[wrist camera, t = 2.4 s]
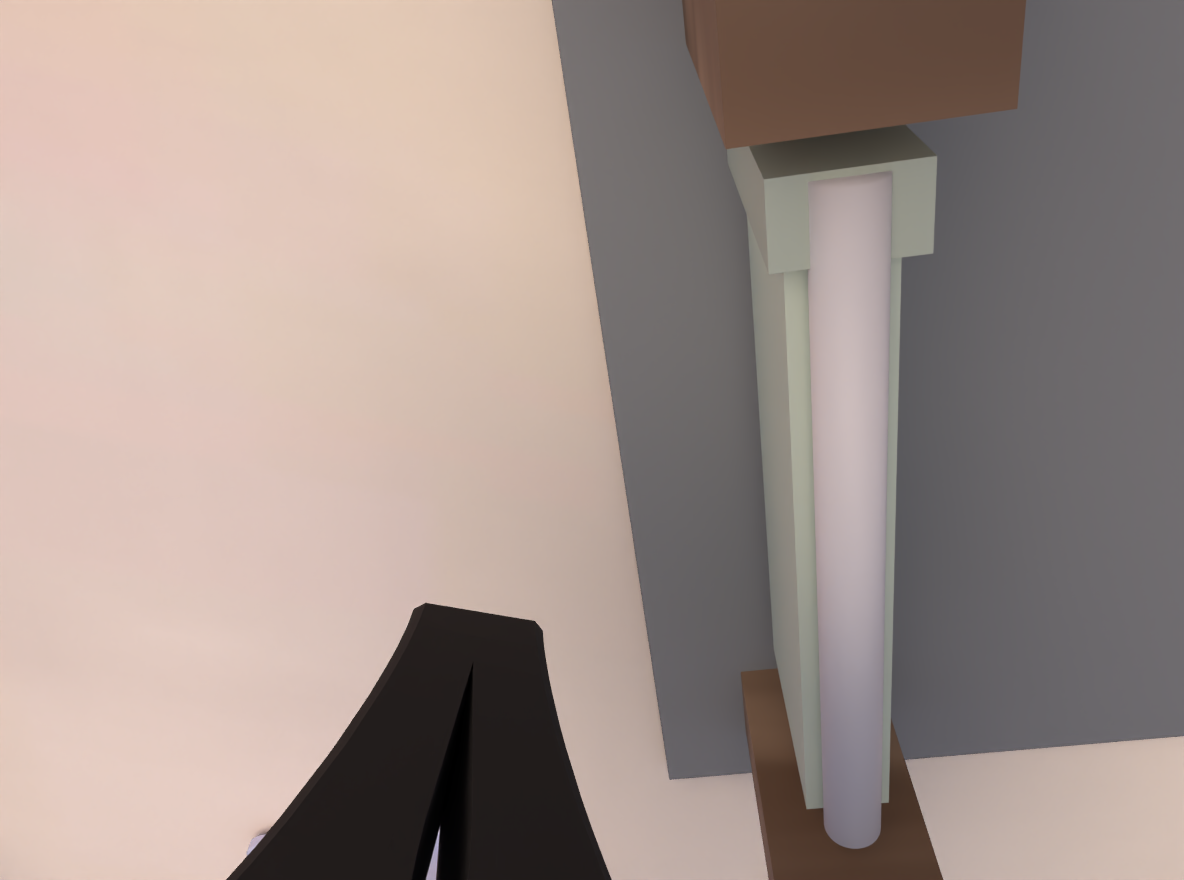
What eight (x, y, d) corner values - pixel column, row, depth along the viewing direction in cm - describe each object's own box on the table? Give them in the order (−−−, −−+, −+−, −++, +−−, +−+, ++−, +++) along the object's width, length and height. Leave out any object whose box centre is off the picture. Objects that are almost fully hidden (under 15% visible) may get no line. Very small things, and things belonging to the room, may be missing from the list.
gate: (852, 638, 22) (915, 844, 17) (761, 647, 22) (801, 853, 18) (849, 70, 15) (948, 165, 11) (722, 88, 16) (769, 190, 11)
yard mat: (1462, 698, 23) (1475, 711, 23) (668, 766, 25) (669, 779, 25) (2034, -572, 12) (2075, -584, 12) (509, -297, 14) (506, -301, 13)
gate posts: (868, 707, 24) (946, 971, 18) (743, 718, 24) (784, 982, 19) (873, -133, 15) (1036, -112, 9) (671, -101, 15) (711, -61, 9)
